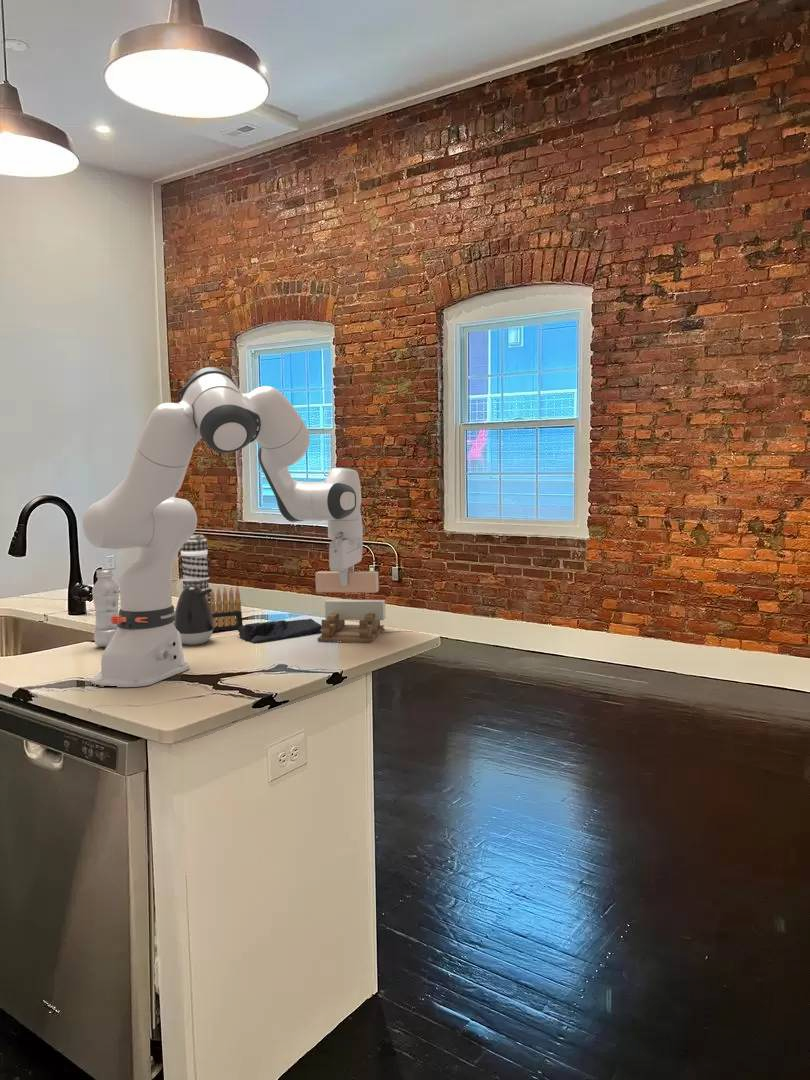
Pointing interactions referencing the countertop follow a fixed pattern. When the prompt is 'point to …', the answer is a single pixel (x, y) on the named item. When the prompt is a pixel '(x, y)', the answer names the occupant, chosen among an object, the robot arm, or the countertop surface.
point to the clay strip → (357, 581)
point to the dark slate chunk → (277, 630)
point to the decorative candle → (195, 563)
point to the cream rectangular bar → (355, 609)
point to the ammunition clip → (226, 610)
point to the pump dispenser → (194, 616)
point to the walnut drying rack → (350, 629)
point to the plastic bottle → (105, 606)
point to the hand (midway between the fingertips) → (346, 583)
